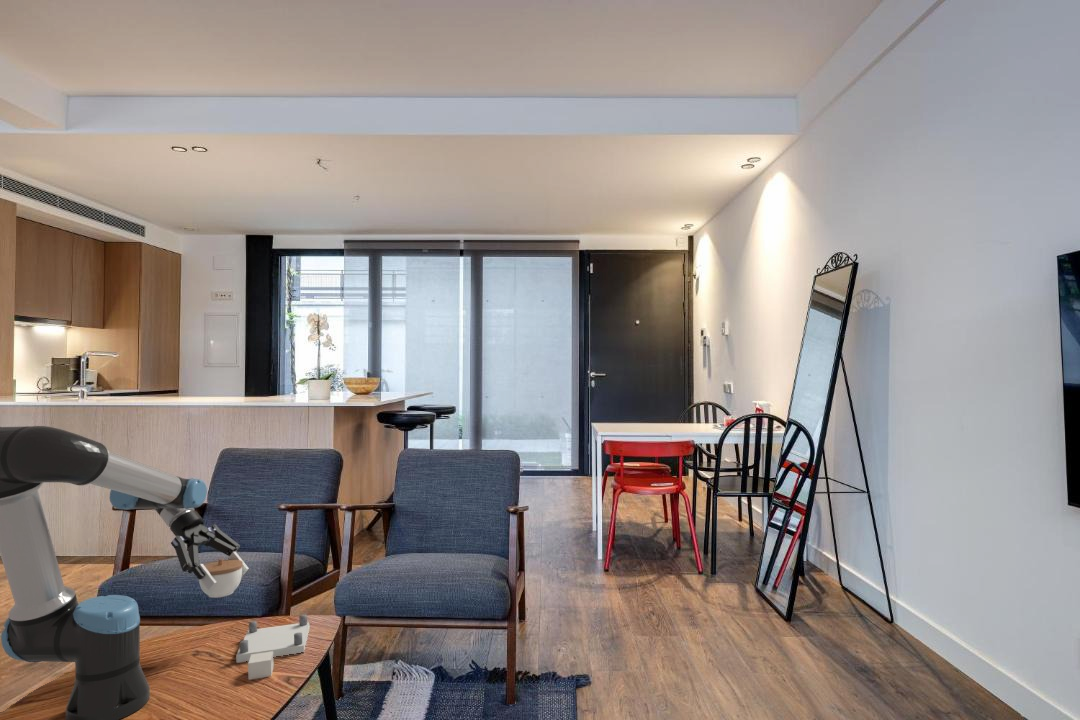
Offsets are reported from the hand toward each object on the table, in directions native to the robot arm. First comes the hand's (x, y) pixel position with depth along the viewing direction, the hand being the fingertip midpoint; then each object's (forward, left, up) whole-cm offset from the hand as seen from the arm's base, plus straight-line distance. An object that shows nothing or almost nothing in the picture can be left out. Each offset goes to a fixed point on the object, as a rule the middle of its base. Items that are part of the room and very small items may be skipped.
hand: (229, 578), depth 165 cm
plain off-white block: (+10, -19, -18) cm, 29 cm away
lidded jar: (-2, +2, -4) cm, 5 cm away
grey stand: (+11, -3, -18) cm, 22 cm away
